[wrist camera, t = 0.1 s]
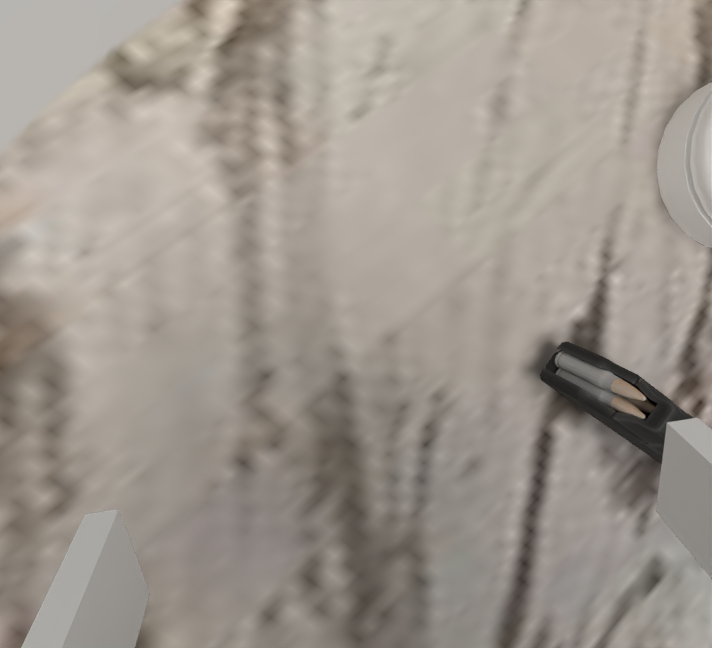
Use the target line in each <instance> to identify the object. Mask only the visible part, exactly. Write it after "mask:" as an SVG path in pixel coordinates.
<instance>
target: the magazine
mask: <svg viewBox="0 0 712 648" xmlns="http://www.w3.org/2000/svg"><path fill="white" fill-rule="evenodd" d="M558 349H560V351H559V352H557V353H555V354H554V355H553V357H552V358H551V359H550V361H549V362H548V364H547V365H546V369H545V368H543V370H542V372H541V374H540V378H541V380H542V381H543V382H545V383H546V384H548V385H549V386H550V387H552V388H553V389H555V390H556V391H557V392H559V393H560V394H562V395H563V396H564V397H566V398H567V399H569V400H570V401H571V402H573V403H574V404H576V405H578V406H579V407H581V408H582V409H584V410H585V411H587V412H588V413H590V414H591V415H592V416H594V417H595V418H597V419H598V420H599V421H601V422H602V423H604V424H605V425H607V426H608V427H609V428H611V429H612V430H614V431H615V432H617V433H618V434H619V435H621V436H622V437H624V438H625V439H627V440H628V441H629V442H631V443H632V444H634V445H635V446H637V447H638V448H639V449H641V450H642V451H644V452H645V453H647V454H648V455H650V456H651V457H652V458H654V459H655V460H657V461H658V462H660V463H661V464H662V458H663V450H664V442H665V434H666V426H667V422H673V421H680V420H686V419H692V418H693V417H692V416H690V415H689V414H687V413H686V412H684V411H683V410H682V409H680V408H679V407H678V406H676V405H675V404H674V403H673V402H672V401H671V400H670V399H668V398H667V397H666V396H664V395H663V394H662V393H661V392H659V391H658V390H657V389H655V388H654V387H653V386H651V385H650V384H649V383H648V382H646V381H645V380H644V379H642V378H641V377H640V376H638V375H637V374H635V373H633V372H631V371H629V370H627V369H625V368H623V367H620V366H618V365H617V364H615V363H613V362H611V361H610V360H608V359H606V358H604V357H602V356H599V355H597V354H595V353H592V352H590V351H588V350H586V349H583V348H581V347H579V346H576V345H574V344H572V343H569V342H563V343H562V344H561V345H560V346H559V347H558Z"/></svg>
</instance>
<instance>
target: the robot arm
mask: <svg viewBox="0 0 712 648" xmlns="http://www.w3.org/2000/svg"><path fill="white" fill-rule="evenodd" d="M656 512H657V513H658V514H659V515H660V517H661V518H662V519H663V520H664V522H665V523H666V524H667V525H668V526H669V528H670V529H671V530H672V531H673V532H674V534H675V535H676V536H677V537H678V538H679V540H680V541H681V542H682V543H683V545H684V546H685V547H686V548H687V549H688V551H689V552H690V553H691V554H692V555H693V557H694V558H695V559H696V560H697V562H698V563H699V564H700V565H701V566H702V568H703V569H704V570H705V571H706V572H707V574H708V575H709V576H710V577H711V578H712V430H711V429H710V428H709V427H708V426H707V425H706V424H704V423H703V422H702V421H701V420H700V419H699V418H692V419H686V420H680V421H673V422H667V426H666V434H665V442H664V450H663V458H662V466H661V474H660V482H659V490H658V498H657V506H656ZM149 596H150V593H149V590H148V587H147V585H146V582H145V579H144V576H143V574H142V571H141V568H140V566H139V563H138V560H137V557H136V555H135V552H134V549H133V547H132V544H131V541H130V538H129V536H128V533H127V530H126V527H125V525H124V522H123V519H122V517H121V514H120V511H119V509H115V510H108V511H102V512H95V513H89V514H85V516H84V518H83V520H82V522H81V524H80V526H79V528H78V530H77V532H76V535H75V537H74V539H73V541H72V543H71V545H70V547H69V549H68V551H67V553H66V555H65V557H64V560H63V562H62V564H61V566H60V568H59V570H58V572H57V574H56V576H55V578H54V580H53V583H52V585H51V587H50V589H49V591H48V593H47V595H46V597H45V599H44V601H43V603H42V605H41V608H40V610H39V612H38V614H37V616H36V618H35V620H34V622H33V624H32V626H31V628H30V630H29V633H28V635H27V637H26V639H25V641H24V643H23V645H22V647H21V648H135V645H136V642H137V638H138V635H139V631H140V628H141V624H142V621H143V617H144V613H145V610H146V606H147V603H148V599H149Z"/></svg>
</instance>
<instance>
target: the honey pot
mask: <svg viewBox="0 0 712 648" xmlns="http://www.w3.org/2000/svg"><path fill="white" fill-rule="evenodd" d="M657 178H658V183H659V189H660V194H661V198H662V200H663V202H664V204H665V206H666V208H667V210H668V212H669V214H670V217H671V218H672V219H673V220H674V221H675V222H676V224H677V225H678V226H679V227H680V228H681V229H682V231H683V232H684V233H685V234H687V235H688V236H690V237H691V238H693V239H694V240H696V241H697V242H699V243H700V244H702V245H703V246H707V247H710V248H712V82H711V83H709V84H707V85H705V86H703V87H701V88H700V89H698V90H696V91H695V92H694V93H693V94H691V95H690V96H689V97H688V98H687V99H686V100H685V101H684V102H683V103H682V104H681V105H680V106H679V107H678V108H677V110H676V111H675V113H674V115H673V116H672V118H671V119H670V121H669V123H668V124H667V126H666V128H665V131H664V134H663V137H662V140H661V143H660V146H659V149H658V161H657Z"/></svg>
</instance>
